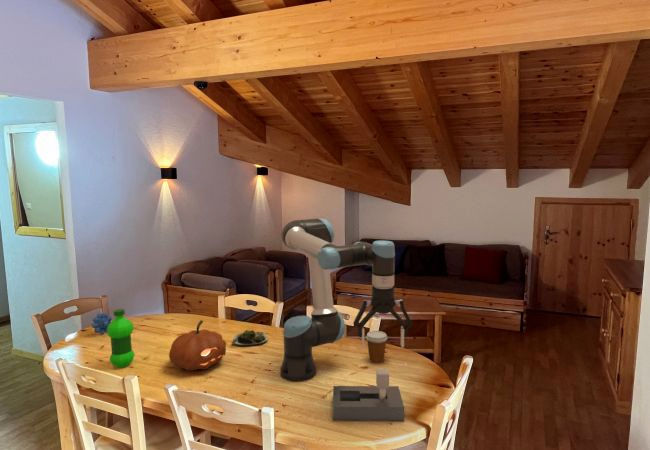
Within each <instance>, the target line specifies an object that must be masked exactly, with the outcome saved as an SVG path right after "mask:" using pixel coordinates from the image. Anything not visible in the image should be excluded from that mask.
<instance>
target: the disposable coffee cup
mask: <svg viewBox="0 0 650 450" xmlns="http://www.w3.org/2000/svg"><path fill="white" fill-rule="evenodd" d="M365 338H366V341H367V349H368V357H369V361H370V362H371V363H375V364H380V363H383V362H384V361H385V353H386V346H387V345H386V343H387V340H388V335H387V334H386V332H384V331H380V330H372V331H368V332H367V334H366V335H365Z"/></svg>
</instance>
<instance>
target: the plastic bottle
mask: <svg viewBox="0 0 650 450" xmlns="http://www.w3.org/2000/svg"><path fill="white" fill-rule="evenodd" d="M125 314H126V311H125V309H124V308H120V309H117V308H116V309H114V310H113V316H114V317H115V318H114V319H113V320H111V321H110V322H111V323H110V324H109V326H108V328H107V332H106V334H107V336H108V337H109V338H110V343H111V344H110V345H111V346H110V347H111V348H110V349H111V353H110V357H109V361H110V363H111V364H112V365H113V366H115V367H116V368H118V369H120V368H126V367H128V366H129V365H130V364H131V363H133V360H134V358H135V351H134V350H133V347H132V336H131V334H132V333H133V331H134V324H133V322H132V321H130V320H129V319H127V318H126V317H124V315H125Z"/></svg>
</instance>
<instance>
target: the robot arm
mask: <svg viewBox="0 0 650 450" xmlns="http://www.w3.org/2000/svg"><path fill="white" fill-rule="evenodd" d="M334 231H335V230H334V228H333V226H332V224H331V223H330V221H329V220H327V219H326V218H310V219H309V218H308V219H296V220H295V219H294V220H291V221H290V222H287V223H286V224H285V225H284V227H283V228H282V230H281V231H280V232H281V233H280V238H281V241H282V243H283V244H284V245H285V247H287V248H288V249H290V250H294V251H295V250H298V251H300V252H301V253H304V254H306V255H307V258H308V266H309V268H308V269H309V277H310V284H311V295H312V301H313V302H312V303H313V310H312V311H311V313H310V316H311V317H310V316H308V315H297V316H292V317H290V318H289V319H287V320H286V321H285V322H284V325H283V332H282V335H283V354H284V355H283V359H282V363H281V366H280V377H281V378H282V379H284V380H286V381H289V382H297V383H298V382H304V381H309V380H311V379H313V378H314V377H315V376H316V374H317V365H316V362H315V360H314V357H313V348H314V347H318V346H322V345H326V344H332V343H335V342H337V341H338V342H339V341H340V340H342V338H343V336H344V334H345V331H346V323H345V320H344V318H343V315H342V314H341V313H339V310H338V309H337V308H336V307H335V306H334V298H333V291H332V281H331V273H330V270H337V269H342V268H348V267H356V266H362V265H363V266H364V265H366V266H368V267H369V266H370V267H371V268H372V270H371V272H372V273H371V274H372V275H371V276H372V277H371V285H372V288H371V289H372V290H371V300H369V299H366V298H363V299H362V303H361V304H362V305H361V307H360V309H359V310H358V312H357V314H356V316H355V319H354V321H353V323H352V324H353V327H355V328H357V329H358V337H359V338H361V347H362V348H365V325H366V324H367V323H368V322H369V320H371V319H372V317H373V316H374V315H375V314H389V313H390V314H391V315H393V317H394V319H396V320H397V322H398V323H399V324H400V325H401V326H400V346H401V348H405V338H407V337H408V329H409V328H413V326H414V324H413V322H412V320H411V319H410V318H411V317H410V316H409V314H408V312H407V311H406V308H405V306H404V300H403V299H402V298H400V299H397V300H395V287H394V286H395V268H396V267H395V264H396V263H395V262H396V252H395V251H396V250H395V244H394V242H393V241H390V240H375V241H373V242H372V244H371V243H369V242H365V241H356V242H354V243H353V244H346V245H335V244H333V242H334V238H335V232H334ZM370 305H371V306H372V307H371V309H370V310H369V311H368V312H367V314H366V315H365V316H364V317H363V315H364V313H365V312H366V309H367V307H369V306H370ZM396 305H397V307H399V308H400V310H401V313H402V314H403V316H404V318H405V320H406V321H407V322H405V321H404V320H403V318H402V317H401V316H400V315H399V314H398V312H397V311H396V310H395V309H394V307H395V306H396ZM362 317H363V318H362Z"/></svg>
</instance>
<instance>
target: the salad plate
mask: <svg viewBox="0 0 650 450" xmlns="http://www.w3.org/2000/svg"><path fill="white" fill-rule="evenodd" d="M267 342H268V335H267V334H266V332H263V331H254V330H249V329H246V330H245V331H243V332H241V333H238V334H236V335H234V337H233V340H232V342H231V345H232V344H233V345H235V346H237V347H240V348H249V347H251V348H252V347H259V346H263V345H265V344H266V343H267Z"/></svg>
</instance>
